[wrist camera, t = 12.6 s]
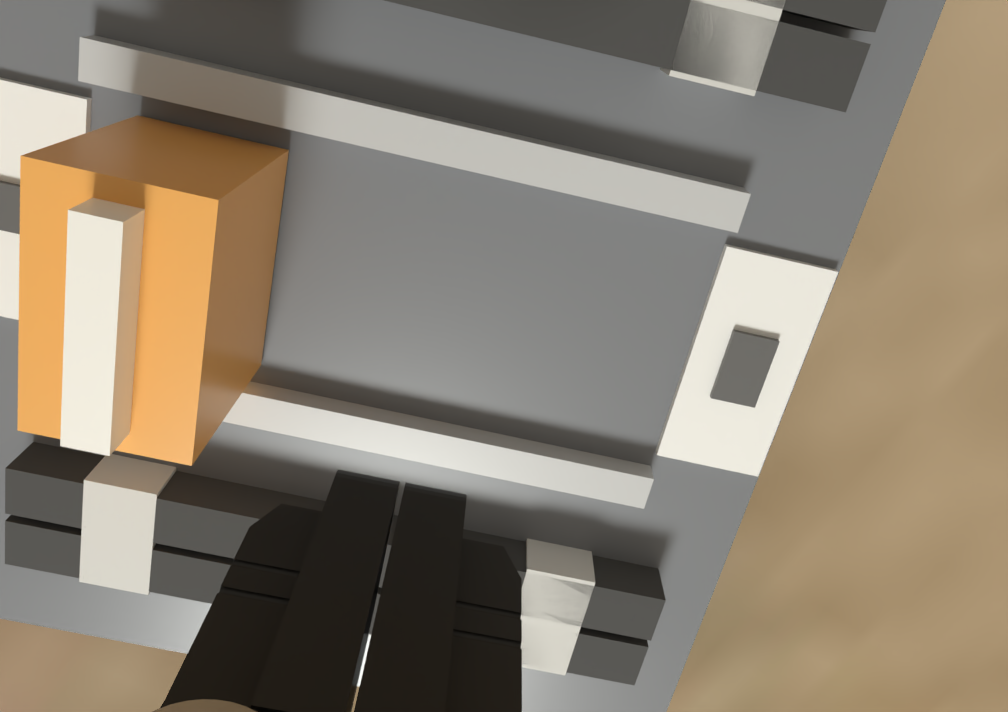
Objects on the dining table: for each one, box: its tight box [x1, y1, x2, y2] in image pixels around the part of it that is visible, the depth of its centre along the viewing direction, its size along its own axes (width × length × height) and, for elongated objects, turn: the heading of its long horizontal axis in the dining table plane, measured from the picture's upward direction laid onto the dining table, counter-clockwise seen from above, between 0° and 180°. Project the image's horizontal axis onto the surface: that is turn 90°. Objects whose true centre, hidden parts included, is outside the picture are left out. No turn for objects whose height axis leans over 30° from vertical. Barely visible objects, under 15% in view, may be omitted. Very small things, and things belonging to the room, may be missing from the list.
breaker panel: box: [0, 0, 946, 712], centre depth 20 cm, size 22×18×3 cm
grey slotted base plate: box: [5, 0, 887, 685], centre depth 19 cm, size 17×15×4 cm
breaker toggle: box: [17, 115, 289, 466], centre depth 16 cm, size 5×3×5 cm, turn 167°
